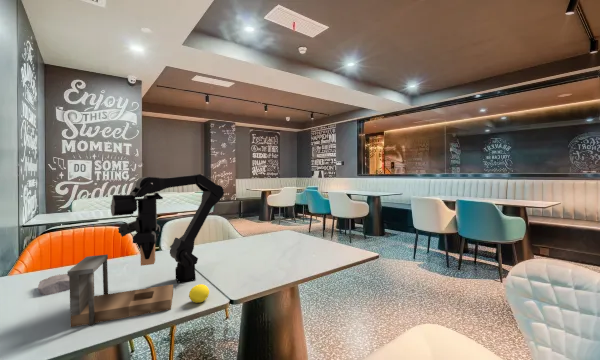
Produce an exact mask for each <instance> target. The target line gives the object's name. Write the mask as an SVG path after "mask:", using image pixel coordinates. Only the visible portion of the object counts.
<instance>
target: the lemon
mask: <svg viewBox="0 0 600 360" xmlns="http://www.w3.org/2000/svg"><path fill="white" fill-rule="evenodd" d="M209 295H210V289H209V287H208V285H206V284H201V283H200V284H196V285H194V286H193V287H192V288H191V289H190V291H189V294H188V297H189V299H190V300H191V302H193V303H195V304H197V303H202V302H205V301H206V300H207V298H209Z"/></svg>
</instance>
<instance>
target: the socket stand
mask: <svg viewBox="0 0 600 360" xmlns="http://www.w3.org/2000/svg"><path fill="white" fill-rule="evenodd" d="M108 259H109V255H108V254H99V255H88V256H85V257H84V258H83V259H82V260H80V261H79V262H78V263H76V264H75V265H74V266H72V267H71V268H70V269H69V270H68V271H67V273H66V274H68V276H69V285H70V290H69V309H70V310H69V311H70V312H69V313H70V314H69V315H70V328H73V327H80V326H85V325H88V326H90V327H91V326H94V325H95V324H96V323H101V322H103V323H104V322H107V321H108V322H109V321H112V320H118V319H125V318H132V317H135V316H136V317H137V316H142V315H148V314H153V313H158V312H164V311H169V310H171V309H172V303H173V299H174V298H173V297H174V284H166V285H160V286H154V287H153V286H151V287H146V288H140V289H133V290H128V291H127V290H126V291H120V292H114V293H112V292H111V293H109V276H108V275H109V274H108V273H109V271H108ZM100 266H102V288H103V291H102V293H103V294H98V295H95V272H96V271H97V270H98V269H99V268H100Z"/></svg>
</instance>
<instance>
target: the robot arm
mask: <svg viewBox="0 0 600 360" xmlns="http://www.w3.org/2000/svg"><path fill="white" fill-rule="evenodd" d="M192 185H196V186H197V188H198V190H200V191H201V192H202V194H201V200H200V201H201V202H200V204H199V206H198V208H197V210H196V211H195V213H194V215H193V217H192V219H191V220H190V222H189V224H188V225H187V228H186V229H185V232H184V233H183V235H181V236H180V237H179V238H178V237H174V239H173V242H172V244H171V245H170V246H169V248H170V249H169V254H170V256H171V258H172V259H174V260H175V262H176V263H177V264H176V267H175V270H174V272H175V280H176V283H178V284H179V283H184V282H185V283H186V282H190V281H196V279H197V277H196V265H197V264H198V260H199V258H198V257H197V256H196V255H194V254H193V252H194V249H195V241H196V239H197V236H198V234H199V232H200V231H201V229H202V227H203V225H204V224H205V222H206V219H207V218H208V216H209V214H210V212H211V210H212V208H213V207H214V206H216V205H217V204H218V203H219V202H220V201H221V199H222V198H223V197H224V195H225V191H224V188H223V186H222V185H220V184H216V183H215V182H213V181H212V180H211V179H209V178H207V177H206V176H205V175H204V174H203V173H196V174H195V173H194V174H189V175H179V176H171V177H156V176H152V177H151V176H142V177H140V178H138V179H137V180H136V182H135V187H134V188H133V189H132V190H131V192H130V193H129V194H112V198H111V204H110V212H111V216H112V217H115V216H117V217H118V216H127V215H133V214H134V213H135V212H137V217H135V220H134V221H131V222H124V223H121V224H120V225H119V227H118V228H117V229H118V234H120V236H121V237H125V236H127V235H129V234H131V233H134V232H135V234H134V236H132V244H138V245H141V247H142V250H143V253H144V256H145V259H149V258H150V255H151V253H152V250H153V247H154V245H155V246H156V244H157V240H158V237H159V235H160V232H161V226H160V225H159V224H158V219H157V218H158V214H157V210H158V209H157V200H163V198H164V197H163V196H162V195H160V193H158V192H160V191H163V190H166V189H169V188H177V187H185V186H192ZM156 232H157V233H156Z"/></svg>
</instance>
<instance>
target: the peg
mask: <svg viewBox="0 0 600 360" xmlns="http://www.w3.org/2000/svg"><path fill="white" fill-rule="evenodd" d="M139 245H140V244H139ZM139 247H140V266H148V265H155V263H156V244H155V245H154V247H153V250H152V253H151V255H150V258H149V259H145V256H144V253H143V250H142V247H141V245H140V246H139Z"/></svg>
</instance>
